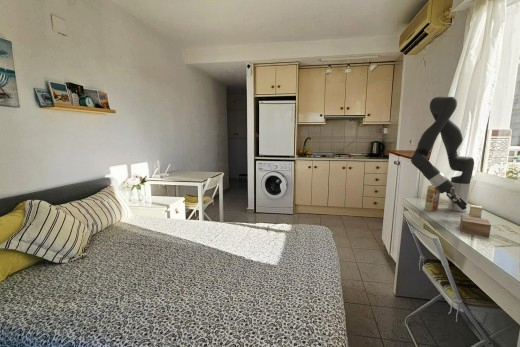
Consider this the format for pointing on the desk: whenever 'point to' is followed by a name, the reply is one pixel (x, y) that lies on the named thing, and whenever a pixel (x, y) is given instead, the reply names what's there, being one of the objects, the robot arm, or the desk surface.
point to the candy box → (432, 198)
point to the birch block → (475, 211)
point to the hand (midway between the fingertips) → (465, 207)
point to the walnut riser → (475, 226)
